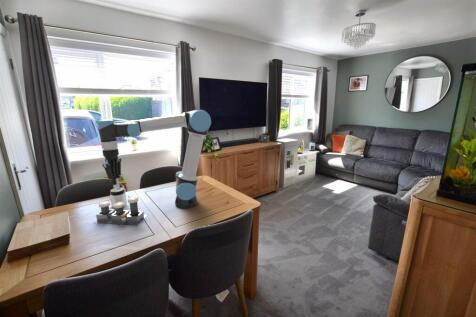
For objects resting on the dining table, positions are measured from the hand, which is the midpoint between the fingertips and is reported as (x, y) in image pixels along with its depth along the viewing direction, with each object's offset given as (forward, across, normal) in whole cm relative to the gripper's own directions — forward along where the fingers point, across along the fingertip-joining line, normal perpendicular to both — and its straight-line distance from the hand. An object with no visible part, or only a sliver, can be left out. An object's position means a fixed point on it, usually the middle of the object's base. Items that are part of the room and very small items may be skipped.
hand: (117, 189), depth 126 cm
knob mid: (+18, 0, 0) cm, 18 cm away
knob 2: (+15, 0, +9) cm, 17 cm away
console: (+20, 0, 0) cm, 20 cm away
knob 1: (+18, +1, -9) cm, 20 cm away
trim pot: (+19, +4, +4) cm, 19 cm away
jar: (+20, -16, -13) cm, 29 cm away
